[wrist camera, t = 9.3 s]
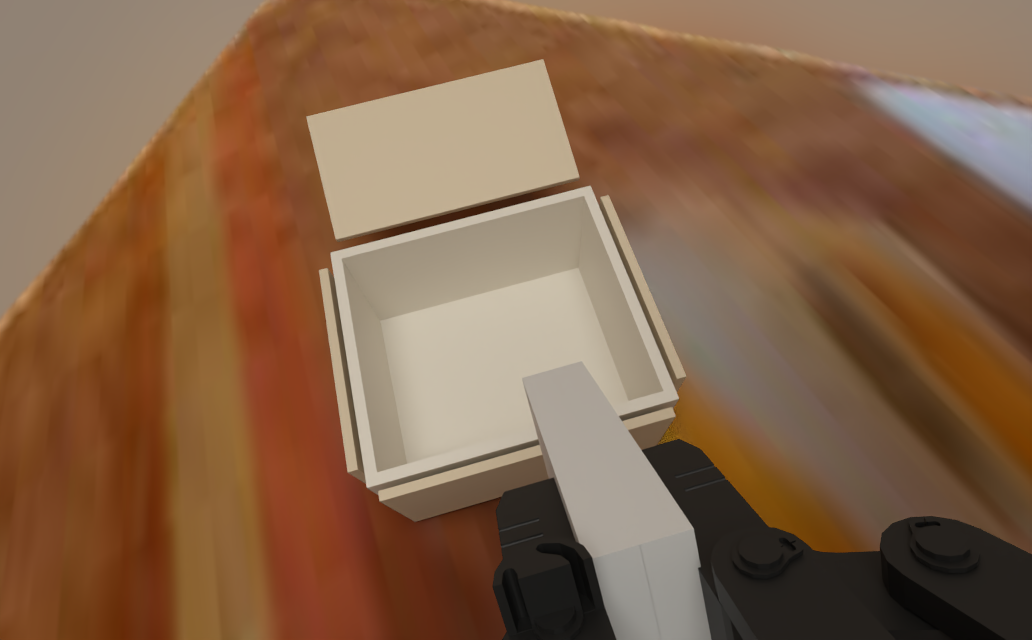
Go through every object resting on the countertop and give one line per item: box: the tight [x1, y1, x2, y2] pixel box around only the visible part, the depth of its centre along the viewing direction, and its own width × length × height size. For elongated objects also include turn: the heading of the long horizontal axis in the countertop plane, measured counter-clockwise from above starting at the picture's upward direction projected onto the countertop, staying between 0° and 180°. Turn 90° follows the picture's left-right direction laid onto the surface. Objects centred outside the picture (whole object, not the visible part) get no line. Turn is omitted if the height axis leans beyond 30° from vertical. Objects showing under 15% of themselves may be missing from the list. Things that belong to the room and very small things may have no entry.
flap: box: [306, 60, 579, 242], centre depth 36 cm, size 15×1×8 cm
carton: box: [319, 186, 686, 522], centre depth 36 cm, size 18×15×9 cm
